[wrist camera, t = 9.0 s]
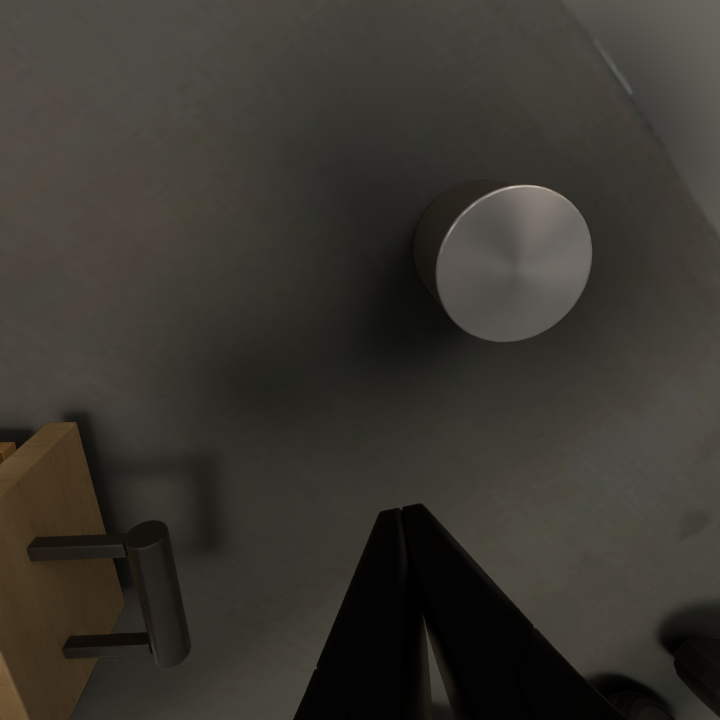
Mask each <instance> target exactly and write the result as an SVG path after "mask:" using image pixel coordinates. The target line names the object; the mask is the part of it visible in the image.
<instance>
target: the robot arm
mask: <svg viewBox="0 0 720 720" xmlns="http://www.w3.org/2000/svg"><path fill="white" fill-rule="evenodd" d="M423 616H424V617H423ZM424 620H425V623H424ZM425 624H426V629H427V632H428V636H429V639H430V643H431V646H432V649H433V652H434V655H435V658H436V662H437V665H438V668H439V671H440V674H441V677H442V680H443V684H444V687H445V690H446V693H447V696H448V699H449V702H450V705H451V709H452V712H453V715H454V718H455V720H629V719H628V718H627V717H626V716H625V715H624V714H623V713H621V712H620V711H619V710H618V709H617V708H616V707H615V706H613V705H612V704H611V703H610V702H609V701H608V700H607V699H606V698H605V697H604V696H603V695H602V694H601V693H599V692H598V691H597V690H596V689H595V688H594V687H593V686H592V685H591V684H590V683H589V682H588V681H587V680H586V679H584V678H583V677H582V676H581V675H580V674H579V673H578V672H577V671H576V670H575V669H574V668H573V667H572V666H571V665H570V664H569V662H568V661H567V660H566V659H565V658H564V657H563V656H562V655H561V654H560V653H559V652H558V651H557V650H556V649H555V648H554V647H553V646H552V645H551V644H550V643H549V641H548V640H547V639H546V638H545V637H544V636H543V635H542V634H541V633H540V632H539V631H538V629H536V628H534V626H533V624H532V623H531V622H530V621H529V620H528V619H527V618H526V617H525V615H524V614H523V613H522V612H521V611H520V610H519V609H518V608H517V607H516V606H515V605H514V603H513V602H512V601H511V600H510V599H509V598H508V597H507V596H506V595H505V594H504V592H503V591H502V590H501V589H500V588H499V587H498V586H497V585H496V584H495V583H494V581H493V580H492V579H491V578H490V577H489V576H488V575H487V574H486V573H485V572H484V571H483V569H482V568H481V567H480V566H479V565H478V564H477V563H476V562H475V561H474V560H473V558H472V557H471V556H470V555H469V554H468V553H467V552H466V551H465V550H464V549H463V547H462V546H461V545H460V544H459V543H458V542H457V541H456V540H455V539H454V538H453V537H452V535H451V534H450V533H449V532H448V531H447V530H446V529H445V528H444V527H443V526H442V524H441V523H440V522H439V521H438V520H437V519H436V518H435V517H434V516H433V515H432V513H431V512H430V511H429V510H428V509H427V508H426V507H425V506H424V505H423V504H420V503H419V504H414V505H409V506H404V507H403V508H402V511H401V509H399V508H394V509H389V510H384V511H381V512H380V513H379V515H378V517H377V519H376V522H375V524H374V527H373V529H372V531H371V534H370V536H369V539H368V541H367V544H366V546H365V549H364V551H363V553H362V556H361V558H360V561H359V563H358V566H357V568H356V570H355V573H354V575H353V578H352V580H351V583H350V585H349V588H348V590H347V592H346V595H345V597H344V600H343V602H342V605H341V607H340V609H339V612H338V614H337V617H336V619H335V622H334V624H333V627H332V629H331V631H330V634H329V636H328V639H327V641H326V644H325V646H324V648H323V651H322V653H321V656H320V658H319V661H318V663H317V669H315V670H314V672H313V675H312V677H311V680H310V682H309V685H308V687H307V689H306V692H305V694H304V696H303V699H302V701H301V703H300V705H299V708H298V710H297V712H296V714H295V717H294V719H293V720H433V713H432V700H431V688H430V675H429V662H428V649H427V639H426V629H425Z"/></svg>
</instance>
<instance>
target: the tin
mask: <svg viewBox="0 0 720 720" xmlns="http://www.w3.org/2000/svg"><path fill="white" fill-rule="evenodd" d="M413 255H414V262H415V266H416V269H417V272H418V274H419V276H420V278H421V280H422V281H423V283H424V284H425V286H426V287H427V288H428V290H429V291H430V292H431V294H432V295H433V296H434V298H435V299H436V300H437V301H438V303H439V304H440V305H441V307H442V308H443V309H444V311H445V312H446V313H447V315H448V316H449V317H450V318H451V319H452V321H453V322H454V323H455V324H456V325H457V326H459V327H460V328H461V329H462V330H464V331H465V332H467V333H468V334H470V335H473V336H475V337H477V338H480V339H483V340H486V341H492V342H515V341H520V340H525V339H528V338H531V337H534V336H536V335H538V334H540V333H543V332H544V331H546V330H548V329H549V328H551V327H552V326H554V325H555V324H556V323H558V322H559V321H560V320H561V319H562V318H563V317H564V316H565V315H567V314H568V312H569V311H570V310H571V309H572V308H573V306H574V305H575V304H576V302H577V301H578V299H579V298H580V296H581V294H582V292H583V290H584V288H585V286H586V283H587V281H588V278H589V274H590V270H591V264H592V242H591V236H590V233H589V229H588V226H587V224H586V222H585V220H584V217H583V216H582V214H581V213H580V211H579V210H578V209H577V207H576V206H575V205H574V204H573V203H572V202H571V201H570V200H568V199H567V198H566V197H565V196H564V195H562V194H560V193H558V192H557V191H555V190H552V189H550V188H547V187H544V186H539V185H535V184H523V183H510V182H497V181H484V180H477V181H469V182H465V183H461V184H459V185H456V186H454V187H452V188H450V189H448V190H446V191H445V192H444V193H442V194H441V195H439V196H438V197H437V198H436V199H435V200H434V201H433V202H432V203H431V204H430V206H429V207H428V208H427V209H426V211H425V212H424V214H423V216H422V218H421V219H420V221H419V224H418V227H417V229H416V233H415V237H414V245H413Z"/></svg>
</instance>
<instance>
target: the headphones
mask: <svg viewBox="0 0 720 720" xmlns="http://www.w3.org/2000/svg"><path fill="white" fill-rule="evenodd" d="M675 656H676V657H675V660H674V666H675V669H676V673H677V675H678V676H679V677H680V678H681V680H682V681H683V682H684V683H685V684H686V685H687V686H688V687H689V689H690V690H691V691H692V692H693V693H694V694H695V695H696V696H697V697H698V698H699V699H700V700H701V701H702V702H703V703H704V704H705V705H706V706H708V707H709V708H710V709H711V710H712V711H713V712H714V713H715V714H716V715H717V716H719V717H720V640H718V639H708V638H695V639H687V640H685V641H684V642H683V643H682V644H681V645H680V646H679V648H678V649H677V651H676V652H675ZM606 699H607V700H608V701H609V702H610V703H611V704H612V705H613V706H615V707H616V708H617V709H618V710H619V711H620V712H621V713H623V714H624V715H625V716H626V717H627V718H628V719H629V720H675V719H674V718H673V717H672V716H671V715H670V714H669V713H668V712H667V711H666V710H665V709H664V708H663V707H662V706H661V705H660V704H658V703H657V702H656V701H654V700H653V699H651V698H650V697H648V696H647V695H644V694H642V693H638V692H634V691H621V692H617V693H614V694H612V695H610V696H608V697H607V698H606Z"/></svg>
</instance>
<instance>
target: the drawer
mask: <svg viewBox="0 0 720 720" xmlns="http://www.w3.org/2000/svg"><path fill="white" fill-rule="evenodd" d="M127 555H128V558H129V562H130V566H131V570H132V574H133V578H134V582H135V586H136V590H137V594H138V598H139V602H140V606H141V610H142V614H143V618H144V622H145V625H146V629H147V632H142V633H120V634H111V632H112V630H113V628H114V625H115V623H116V621H117V619H118V617H119V615H120V613H121V611H122V609H123V607H124V605H125V602H124V598H123V595H122V591H121V587H120V583H119V580H118V576H117V572H116V569H115V565H114V561H113V558H125V557H127ZM190 649H191V641H190V636H189V631H188V626H187V621H186V616H185V611H184V606H183V601H182V596H181V591H180V586H179V582H178V577H177V572H176V567H175V562H174V557H173V552H172V547H171V542H170V537H169V532H168V528H167V526H166V524H164V523H163V522H161V521H156V520H153V521H146V522H143V523H140V524H138V525H136V526H135V527H133V528H132V529H131V530H130V531H129V532H128V533H127V534H106V531H105V528H104V524H103V520H102V516H101V513H100V509H99V505H98V502H97V498H96V494H95V490H94V487H93V483H92V479H91V475H90V472H89V468H88V464H87V461H86V457H85V453H84V449H83V446H82V442H81V438H80V434H79V431H78V427H77V423H76V422H56V423H47V424H46V425H44V426H43V427H42V428H41V429H40V430H39V431H38V432H37V433H35V434H34V435H33V436H32V437H31V438H30V439H29V440H27V441H26V442H25V443H24V444H23V445H22V446H21V447H19V448H18V449H17V448H16V445H15V442H0V720H69V718H70V716H71V714H72V712H73V710H74V708H75V706H76V704H77V702H78V700H79V698H80V696H81V694H82V692H83V689H84V687H85V685H86V683H87V681H88V679H89V677H90V675H91V673H92V671H93V669H94V667H95V665H96V663H97V661H98V658H100V657H121V656H141V655H151V654H152V653H153V657H154V661H155V663H156V664H157V665H158V666H160V667H163V668H169V667H173V666H176V665H178V664H179V663H181V662H182V661H183V660H184V659H185V658H186V657H187V655H188V654H189V652H190Z"/></svg>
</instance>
